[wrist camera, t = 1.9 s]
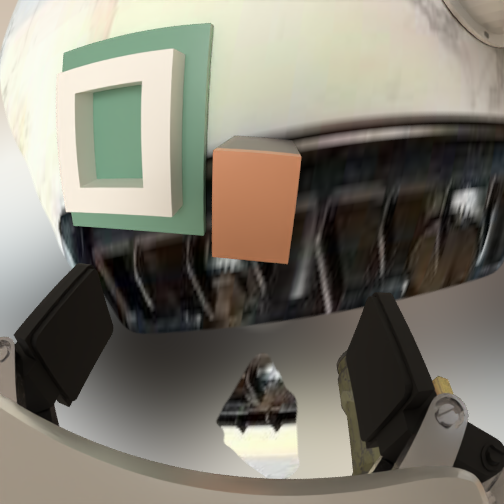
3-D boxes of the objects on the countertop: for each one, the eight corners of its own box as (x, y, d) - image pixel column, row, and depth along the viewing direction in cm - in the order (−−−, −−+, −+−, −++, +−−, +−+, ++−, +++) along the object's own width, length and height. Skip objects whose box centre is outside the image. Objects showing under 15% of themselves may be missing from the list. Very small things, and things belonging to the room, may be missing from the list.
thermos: (327, 384, 39) (334, 598, 8) (346, 333, 33) (373, 614, 3) (379, 382, 38) (405, 579, 8) (406, 331, 33) (463, 577, 2)
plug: (235, 135, 23) (213, 150, 15) (292, 140, 23) (301, 157, 15) (231, 209, 26) (212, 256, 19) (284, 213, 26) (287, 263, 18)
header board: (69, 53, 19) (45, 51, 15) (213, 26, 18) (202, 12, 14) (78, 222, 28) (58, 237, 25) (206, 231, 28) (195, 250, 24)
